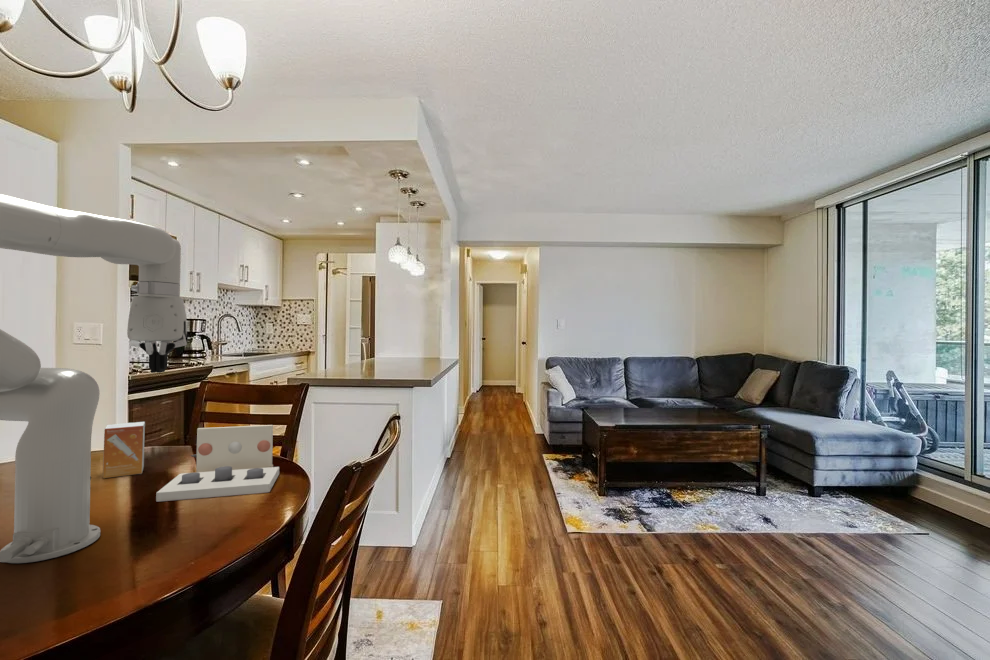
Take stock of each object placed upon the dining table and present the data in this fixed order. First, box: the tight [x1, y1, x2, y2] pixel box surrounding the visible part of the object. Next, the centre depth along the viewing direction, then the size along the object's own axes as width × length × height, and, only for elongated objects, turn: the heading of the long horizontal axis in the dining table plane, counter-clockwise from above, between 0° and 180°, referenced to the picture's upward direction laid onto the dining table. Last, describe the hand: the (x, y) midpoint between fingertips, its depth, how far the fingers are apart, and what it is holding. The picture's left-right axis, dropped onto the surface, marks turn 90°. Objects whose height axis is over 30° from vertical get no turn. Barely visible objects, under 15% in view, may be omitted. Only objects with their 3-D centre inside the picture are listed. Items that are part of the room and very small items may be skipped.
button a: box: [182, 472, 200, 484], centre depth 107 cm, size 4×4×3 cm
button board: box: [155, 466, 280, 502], centre depth 109 cm, size 14×23×2 cm, turn 107°
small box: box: [102, 421, 146, 479], centre depth 118 cm, size 8×6×13 cm
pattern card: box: [195, 424, 274, 472], centre depth 120 cm, size 4×18×12 cm, turn 107°
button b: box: [215, 466, 232, 482], centre depth 109 cm, size 4×4×3 cm
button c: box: [247, 468, 263, 479], centre depth 111 cm, size 4×4×3 cm
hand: (158, 372), depth 100 cm, fingers closed
